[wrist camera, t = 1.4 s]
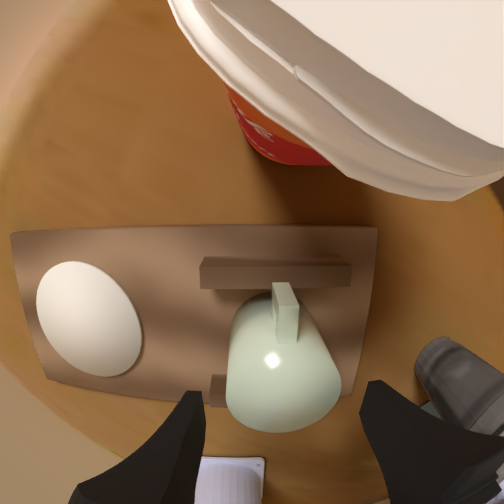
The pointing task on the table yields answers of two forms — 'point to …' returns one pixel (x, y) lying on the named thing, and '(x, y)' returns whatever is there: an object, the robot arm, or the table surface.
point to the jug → (278, 364)
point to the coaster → (89, 318)
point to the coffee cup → (364, 85)
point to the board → (205, 294)
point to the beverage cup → (463, 388)
